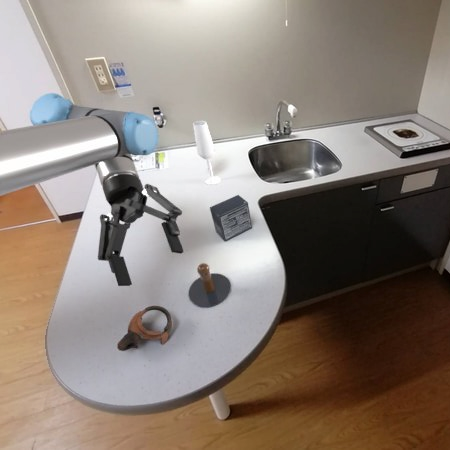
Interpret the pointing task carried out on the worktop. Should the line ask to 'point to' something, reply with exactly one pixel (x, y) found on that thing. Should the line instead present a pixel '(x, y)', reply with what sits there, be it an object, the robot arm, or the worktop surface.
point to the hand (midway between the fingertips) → (151, 269)
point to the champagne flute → (205, 148)
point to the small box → (231, 217)
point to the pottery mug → (144, 330)
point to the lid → (209, 288)
